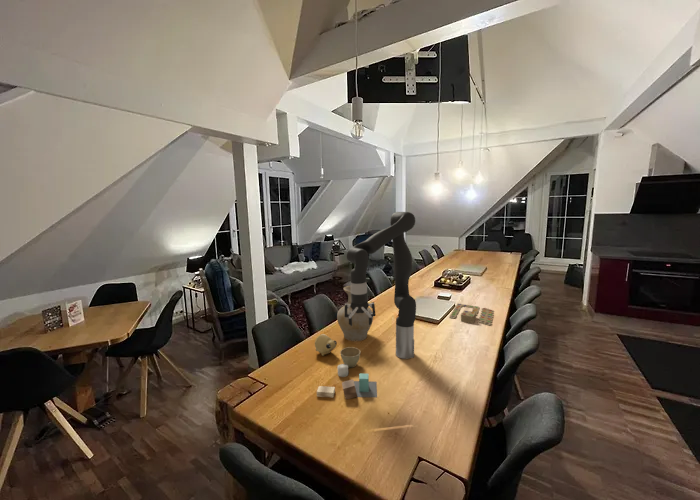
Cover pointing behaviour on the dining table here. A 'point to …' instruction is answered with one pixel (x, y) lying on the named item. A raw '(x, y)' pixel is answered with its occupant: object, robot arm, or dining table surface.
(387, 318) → the dining table surface
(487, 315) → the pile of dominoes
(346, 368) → the grey cylinder
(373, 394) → the felt mat
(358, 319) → the vase
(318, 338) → the toy pig
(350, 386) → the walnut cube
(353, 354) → the flower pot
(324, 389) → the beech slab
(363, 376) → the teal block
